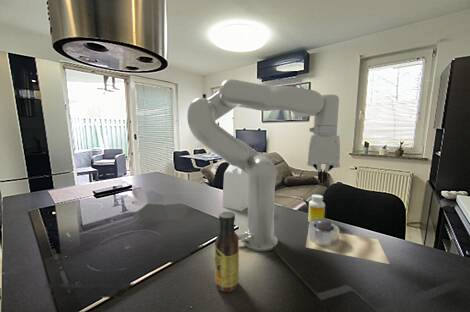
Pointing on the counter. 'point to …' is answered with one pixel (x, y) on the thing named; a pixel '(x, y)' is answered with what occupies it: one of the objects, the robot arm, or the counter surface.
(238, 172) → the milk
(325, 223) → the grey rounded canister
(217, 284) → the sauce bottle
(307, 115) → the robot arm
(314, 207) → the supplement bottle
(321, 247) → the birch board
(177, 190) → the counter surface
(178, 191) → the counter surface
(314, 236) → the lens barrel
